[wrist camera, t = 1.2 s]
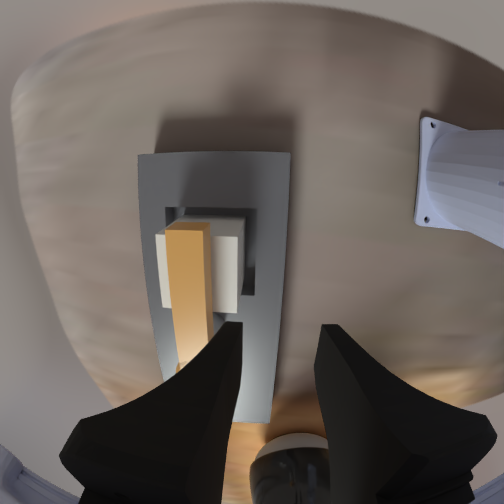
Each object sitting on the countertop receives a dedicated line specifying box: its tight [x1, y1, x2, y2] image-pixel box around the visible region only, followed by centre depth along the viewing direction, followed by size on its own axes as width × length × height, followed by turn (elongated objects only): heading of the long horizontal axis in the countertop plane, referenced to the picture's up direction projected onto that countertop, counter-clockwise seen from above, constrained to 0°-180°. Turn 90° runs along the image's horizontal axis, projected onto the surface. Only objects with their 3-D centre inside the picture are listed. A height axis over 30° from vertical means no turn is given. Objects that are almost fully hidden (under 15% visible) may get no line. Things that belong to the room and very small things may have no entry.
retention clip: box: [165, 222, 214, 373], centre depth 13 cm, size 2×9×2 cm, turn 179°
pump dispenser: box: [249, 433, 330, 504], centre depth 19 cm, size 10×10×15 cm
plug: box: [155, 215, 246, 313], centre depth 16 cm, size 4×4×5 cm
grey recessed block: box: [138, 151, 291, 424], centre depth 18 cm, size 9×22×6 cm, turn 179°
